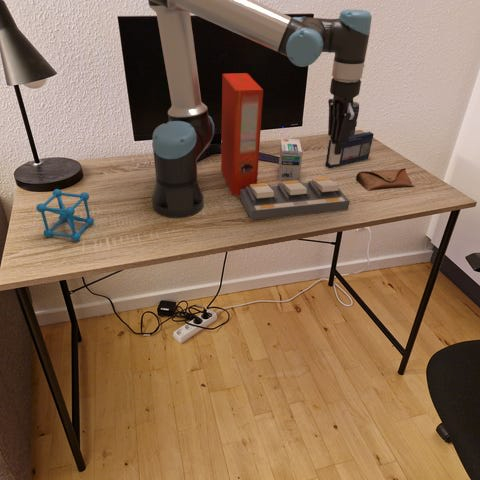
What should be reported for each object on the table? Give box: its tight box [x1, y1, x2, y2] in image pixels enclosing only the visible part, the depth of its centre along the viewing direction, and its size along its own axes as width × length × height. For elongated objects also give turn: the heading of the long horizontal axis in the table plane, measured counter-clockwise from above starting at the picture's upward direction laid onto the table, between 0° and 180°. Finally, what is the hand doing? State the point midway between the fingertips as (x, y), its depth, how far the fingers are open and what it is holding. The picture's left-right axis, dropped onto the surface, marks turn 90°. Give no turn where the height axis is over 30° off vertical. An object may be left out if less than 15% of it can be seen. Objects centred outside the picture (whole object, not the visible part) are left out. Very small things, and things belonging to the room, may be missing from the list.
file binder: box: [220, 72, 264, 196], centre depth 132 cm, size 8×17×32 cm, turn 14°
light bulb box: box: [278, 138, 304, 182], centre depth 144 cm, size 11×7×11 cm, turn 179°
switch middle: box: [280, 180, 307, 195], centre depth 129 cm, size 5×8×2 cm, turn 14°
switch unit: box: [239, 178, 351, 221], centre depth 130 cm, size 30×13×4 cm, turn 104°
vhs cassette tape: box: [324, 131, 374, 169], centre depth 153 cm, size 18×3×10 cm, turn 118°
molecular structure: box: [35, 188, 95, 242], centre depth 113 cm, size 10×10×10 cm
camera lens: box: [349, 101, 360, 136], centre depth 168 cm, size 8×8×15 cm
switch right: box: [311, 177, 340, 192], centre depth 131 cm, size 5×8×2 cm, turn 14°
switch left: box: [250, 182, 274, 198], centre depth 127 cm, size 5×8×2 cm, turn 14°
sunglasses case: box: [355, 168, 415, 192], centre depth 143 cm, size 18×7×7 cm
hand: (333, 163), depth 124 cm, fingers closed
